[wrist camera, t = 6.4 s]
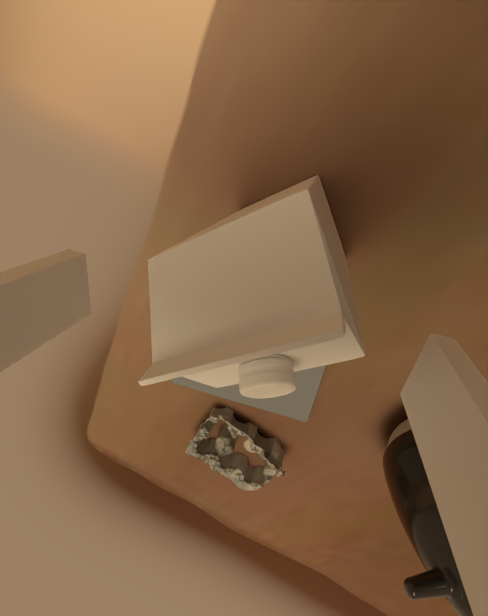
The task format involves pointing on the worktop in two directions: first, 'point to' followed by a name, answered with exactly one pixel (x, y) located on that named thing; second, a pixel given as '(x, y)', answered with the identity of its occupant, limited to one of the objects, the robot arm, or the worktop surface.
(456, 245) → the worktop surface
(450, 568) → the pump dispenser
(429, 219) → the worktop surface
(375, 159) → the worktop surface
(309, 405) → the mat
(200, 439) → the egg carton
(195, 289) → the milk carton
